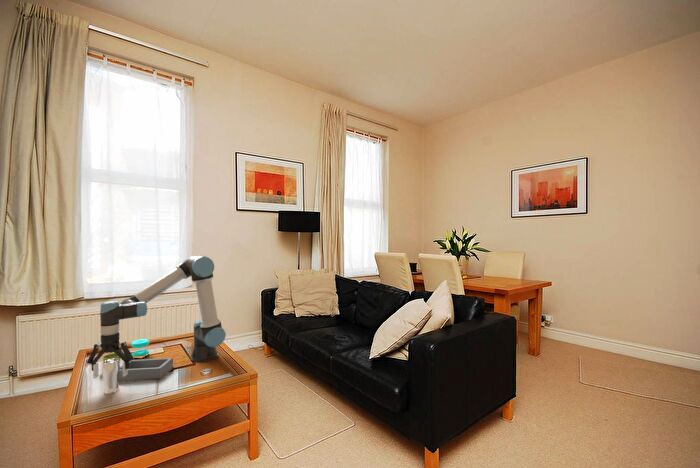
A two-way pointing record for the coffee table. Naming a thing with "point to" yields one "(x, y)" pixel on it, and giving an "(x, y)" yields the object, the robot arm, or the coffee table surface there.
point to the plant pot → (111, 357)
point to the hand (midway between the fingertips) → (110, 376)
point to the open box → (146, 369)
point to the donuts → (140, 344)
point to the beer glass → (111, 375)
